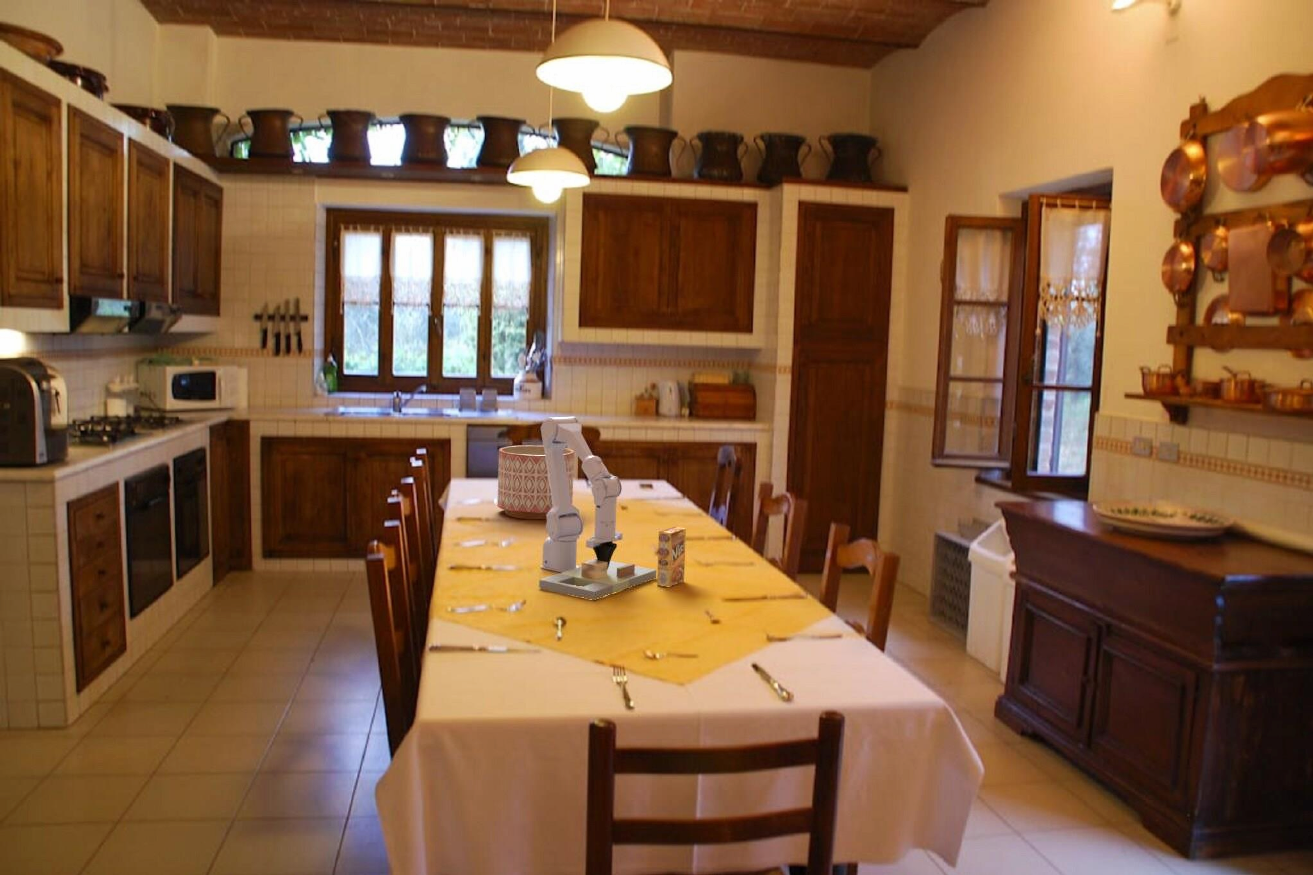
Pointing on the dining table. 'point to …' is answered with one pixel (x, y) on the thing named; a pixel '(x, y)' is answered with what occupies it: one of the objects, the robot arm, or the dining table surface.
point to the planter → (528, 481)
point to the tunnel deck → (615, 581)
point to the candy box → (671, 556)
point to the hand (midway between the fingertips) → (603, 569)
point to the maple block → (594, 569)
